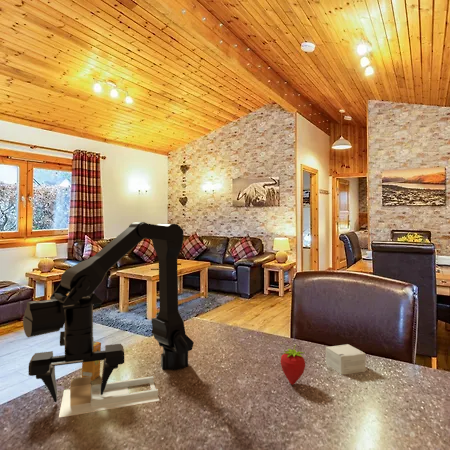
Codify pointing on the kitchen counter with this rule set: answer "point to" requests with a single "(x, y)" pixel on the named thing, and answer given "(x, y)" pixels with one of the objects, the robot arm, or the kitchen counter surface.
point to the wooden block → (80, 391)
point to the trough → (111, 397)
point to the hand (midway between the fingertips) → (79, 397)
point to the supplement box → (92, 365)
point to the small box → (345, 359)
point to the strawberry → (292, 365)
